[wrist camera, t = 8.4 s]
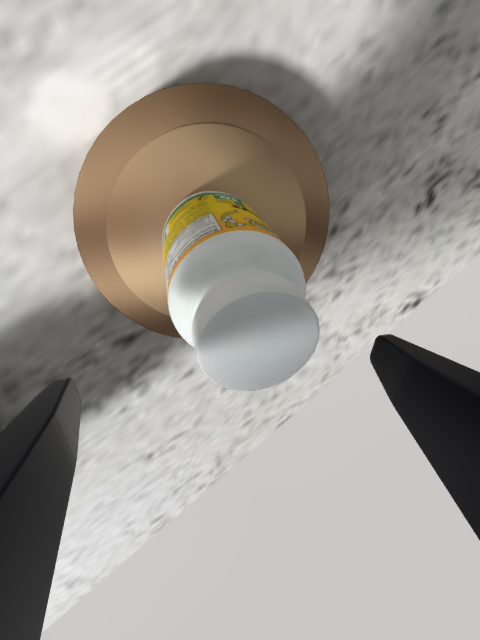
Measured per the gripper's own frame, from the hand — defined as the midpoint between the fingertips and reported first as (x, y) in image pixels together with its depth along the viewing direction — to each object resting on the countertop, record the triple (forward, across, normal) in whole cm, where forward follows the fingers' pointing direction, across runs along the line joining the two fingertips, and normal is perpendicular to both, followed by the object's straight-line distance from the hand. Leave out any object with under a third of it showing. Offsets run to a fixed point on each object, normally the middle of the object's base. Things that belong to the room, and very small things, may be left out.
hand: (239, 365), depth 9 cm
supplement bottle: (+10, -1, 0) cm, 10 cm away
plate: (+13, -1, 0) cm, 13 cm away
